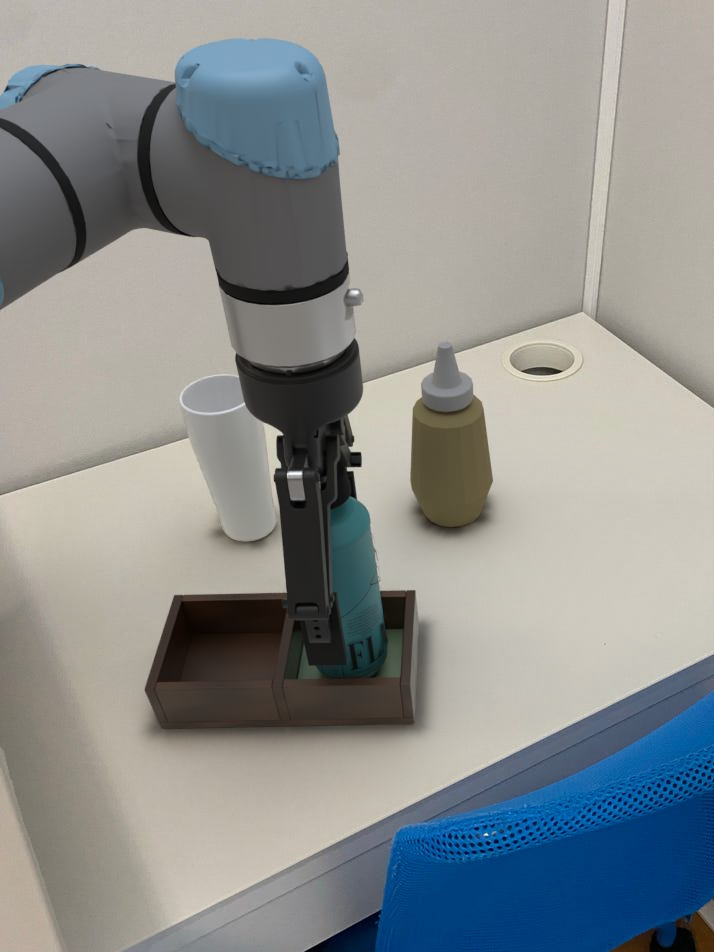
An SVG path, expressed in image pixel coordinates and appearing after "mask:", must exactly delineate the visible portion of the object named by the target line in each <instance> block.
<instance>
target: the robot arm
mask: <svg viewBox="0 0 714 952" xmlns="http://www.w3.org/2000/svg"><path fill="white" fill-rule="evenodd" d="M328 89H329V88H328V83H327V76H326V74H325V70H324V67H323V66H322V64H321V63H320V61H319V58H318V57H316V55H315V54H314V53H312V52H311V51H310V50H309V49H308V48H306V47H304V46H302V45H300V44H298V43H295V42H292V41H288V40H283V39H277V38H268V37H260V38H257V39H247V38H229V39H222V40H216V41H212V42H209V43H204V44H202V45H199V46H196V47H193V48H192V49H189V50H188V51H186V52H184V53H183V54H182V55H181V57H180V58H179V59H178V61H177V63H176V66H175V69H174V81H171V80H164V79H158V78H152V77H145V76H139V75H133V74H129V73H128V74H127V73H120V72H115V71H108V70H102V69H101V68H99V67H97V66H93V65H91V66H86V65H85V64H82V63H65V64H63V65H58V64H57V65H54V64H36V65H29V66H26V67H24V68H23V69H20V70H18V71H17V72H15V73H13V75H11V77H10V79H8V82H7V85H6V86H5V89H4V90H3V92H2V93H1V94H0V311H1V310H3V309H4V308H6V307H8V306H9V305H11V304H13V303H14V302H16V301H17V300H19V299H20V298H22V297H23V296H25V295H27V294H28V293H29V292H31V291H33V290H35V289H36V288H37V287H39V286H40V285H42V284H43V283H45V282H47V281H48V280H50V279H51V278H53V277H55V276H57V275H58V274H61V273H62V272H65V271H66V270H68V269H70V268H72V267H74V266H75V265H77V264H79V263H80V262H82V261H83V260H85V259H87V258H89V257H90V256H92V255H94V254H95V253H97V252H99V251H101V250H102V249H104V248H105V247H107V246H108V245H110V244H113V243H115V242H116V241H117V240H118V239H120V238H122V237H123V236H125V235H127V234H128V233H130V232H132V231H134V230H139V229H140V230H141V229H148V230H153V231H158V232H164V233H167V234H168V233H169V234H174V235H178V236H183V237H188V238H201V239H206V240H207V241H208V243H209V248H210V252H211V256H212V257H211V258H212V261H213V265H214V269H215V273H216V278H217V282H218V288H219V293H220V298H221V302H222V307H223V308H222V309H223V313H224V318H225V322H226V327H227V332H228V336H229V341H230V346H231V348H232V349H233V350H234V352H235V356H234V362H235V365H236V366H235V367H236V371H237V373H238V374H237V376H239V380H240V384H241V389H242V394H243V398H244V402H245V405H246V407H247V409H248V410H249V412H250V413H251V414H252V415H253V416H254V417H255V418H257V419H258V420H260V421H262V422H264V424H266V425H268V426H271V427H272V428H275V429H276V430H278V432H280V433H282V435H281V434H280V435H279V434H278V435H277V436H276V440H275V447H276V449H275V451H276V458H277V460H278V461H279V463H280V467H276V468H275V469H274V474H273V482H274V485H275V490H276V496H277V497H276V498H277V502H278V509H279V519H280V530H281V543H282V555H283V566H284V579H285V593H287V599H283V600H282V606H283V608H287V615H288V618H289V620H299V621H300V626H301V631H302V635H303V640H304V645H305V650H306V655H307V659H308V664H309V666H321V665H347V652H346V646H345V640H344V634H343V628H342V622H341V615H340V609H339V603H338V597H337V592H333V587H332V552H331V517H330V505H331V504H332V503H333V502H335V501H336V499H337V463H338V461H339V460H340V461H341V462H342V463H343V464H344V466H345V468H346V471H347V476H348V479H349V481H350V486H351V495H350V497H353V498H355V499H356V500H358V496H357V487H356V480H355V471H354V470H348V468H362V467H363V457H362V456H363V455H362V451H351V448H353V446H354V443H355V435H354V434H353V433H354V432H353V430H352V427H351V426H352V425H351V422H350V418H349V414H351V413H352V412H353V411H354V410H355V409H356V408H357V406H358V405H359V404H360V402H361V400H362V398H363V394H364V382H363V372H362V364H361V354H360V347H359V343H358V341H357V339H356V332H357V329H356V328H357V327H356V319H355V310H354V307H360V306H361V305H362V304H363V303H364V294H363V292H362V290H361V288H356V287H354V288H349V286H350V284H351V276H350V265H349V264H350V263H349V253H348V250H347V242H346V233H345V232H346V231H345V221H344V220H345V219H344V212H343V200H342V190H341V178H340V177H341V176H340V165H339V156H340V155H341V152H340V151H341V150H340V142H339V141H340V140H339V137H338V134H337V132H336V130H335V124H334V119H333V113H332V108H331V101H330V94H329V90H328ZM323 483H327V487H326V489H325V490H323V491H320V489H321V484H323Z"/></svg>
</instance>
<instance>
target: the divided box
mask: <svg viewBox="0 0 714 952" xmlns="http://www.w3.org/2000/svg"><path fill="white" fill-rule="evenodd" d="M380 593H381V595H382V596H381V602H382V604H383V605H382V610H383V608H384V610H383V617H384V624H385V617H386V626H387V630H386V628H385V631H386V633H387V632H388V633H387V634H386V635H387V640H388V644H387V647H388V651H389V652H388V651H387V654H388V655H387V656H386V660H385V662H384V664H383V666H382V667H381V668H380V669H379V670H378V671H377V672H376V673H375V674H374V675H372V676H370V677H369V678H336V679H329V678H327V677H325V676H324V675H323V674H322V673H321V672H320V671H319V670H318V669H317V667H316V666H309V664H308V659H307V655H306V650H305V645H304V640H303V635H302V631H301V626H300V621H299V620H289V618H288V615H287V608H283V606H282V600H283V599H287V592H251V593H248V592H247V593H203V594H202V593H197V594H174V595H173V598H172V600H171V604H170V607H169V609H168V610H169V611H168V614H167V616H166V620H165V623H164V626H163V629H162V633H161V636H160V638H159V642H158V644H157V648H156V652H155V655H154V657H153V662H152V665H151V667H150V670H149V673H148V677H147V680H146V683H145V686H144V689H143V690H144V692H145V695H146V697H147V700H148V702H149V704H150V707H151V709H152V711H153V714H154V716H155V718H156V720H157V723H158V725H159V727H160V729H192V728H193V729H196V728H198V729H199V728H200V729H201V728H202V729H204V728H250V727H251V728H252V727H253V728H255V727H304V726H351V725H353V726H357V725H358V726H359V725H401V724H403V725H405V724H406V725H409V724H415V723H416V722H415V721H416V705H417V703H416V702H417V681H418V664H419V663H418V660H419V644H420V643H419V642H420V641H419V640H420V625H419V623H420V621H419V613H418V602H417V601H418V600H417V591H416V590H415V589H408V590H407V589H402V590H401V589H399V590H398V589H397V590H380ZM382 597H383V598H382ZM383 606H384V607H383ZM384 613H385V614H384ZM388 645H389V646H388Z"/></svg>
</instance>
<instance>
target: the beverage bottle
mask: <svg viewBox="0 0 714 952" xmlns="http://www.w3.org/2000/svg"><path fill="white" fill-rule="evenodd" d="M347 471H348V470H347ZM347 471H346V468H345V466H344V464H343V463H342V462H341V461H340V460H339V461H338V463H337V499H336V501H335V502H333V503H332V504H331V505H330V517H331V552H332V587H333V592H337V597H338V603H339V609H340V615H341V622H342V628H343V634H344V640H345V646H346V652H347V665H321V666H316V667H317V669H318V670H319V671H320V672H321V673H322V674H323V675H324V676H325V677H327V678H329V679H336V678H369V677H370V676H372V675H374V674H375V673H376V672H377V671H378V670H379V669H380V668H381V667H382V666H383V664H384V662H385V660H386V656H387V655H388V654H387V651H388V647H387V644H388V640H387V635H386V634H387V633H388V632H387V633H386V631H385V628H386V630H387V626H386V617H385V624H384V617H383V610H384V608H383V610H382V605H383V604H382V602H381V596H382V595H381V593H380V591H381V587H380V582H381V576H380V575H381V574H380V572H378V570H380V566H379V565H377V564H378V563H377V561H379V558H378V557H376V556H378V554H377V553H378V552H377V549H376V548H375V546H374V543H376V542H375V540H374V539H373V537H374V535H373V534H372V527H371V514H370V512H369V509H368V508H367V507H366V506H365V505H364V503H363V502H361V501H360V500H358V499H357V500H356V499H355V498H353V497H350V495H351V486H350V481H349V479H348V476H347ZM326 487H327V483H323V484H321V489H320V491H323V490H325V489H326ZM373 540H374V541H373ZM378 573H379V575H378ZM382 598H383V597H382ZM383 607H384V606H383ZM384 614H385V613H384ZM388 646H389V645H388ZM388 652H389V651H388Z"/></svg>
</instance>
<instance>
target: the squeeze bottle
mask: <svg viewBox="0 0 714 952" xmlns="http://www.w3.org/2000/svg"><path fill="white" fill-rule="evenodd" d="M435 356H436V357H435V362H434V367H433V372H430V373H429V374H428V375H426V376H424V377H423V379H422V380H421V382H420V389H421V390H420V391H421V397H420V398H418V399H417V400H416V401H415V403H414V405H413V407H412V419H411V420H412V421H411V446H410V447H411V448H410V450H411V451H410V475H409V477H410V480H409V481H410V487H411V491H412V493H413V494H414V496H415V499H416V501H417V503H418V504H419V506H420V508H421V510H422V512H423V514H424V516H425V518H427V519H428V521H430V522H431V523H434V524H435V525H438V526H441V527H447V528H456V527H464V526H466V525H469V524H471V523H473V522H475V520H476V519H478V518H479V517H480V516H481V513H482V511H483V508H484V506H485V503H486V501H487V498H488V495H489V493H490V490H491V487H492V485H493V482H494V478H493V470H492V463H491V462H492V461H491V454H490V447H489V440H488V432H487V425H486V424H487V423H486V416H485V409H484V405H483V401H482V400H481V399H480V398H479V397H477V396H476V395H475V394H474V383H473V379H472V378H471V377H470V376H469V375H468V374H467V373H465V372H462V371H460V370H459V367H458V363H457V359H456V356H455V351H454V348H453V344H452V343H451V342H449V341H441V342H439V343H438V345H437V350H436V355H435Z"/></svg>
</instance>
